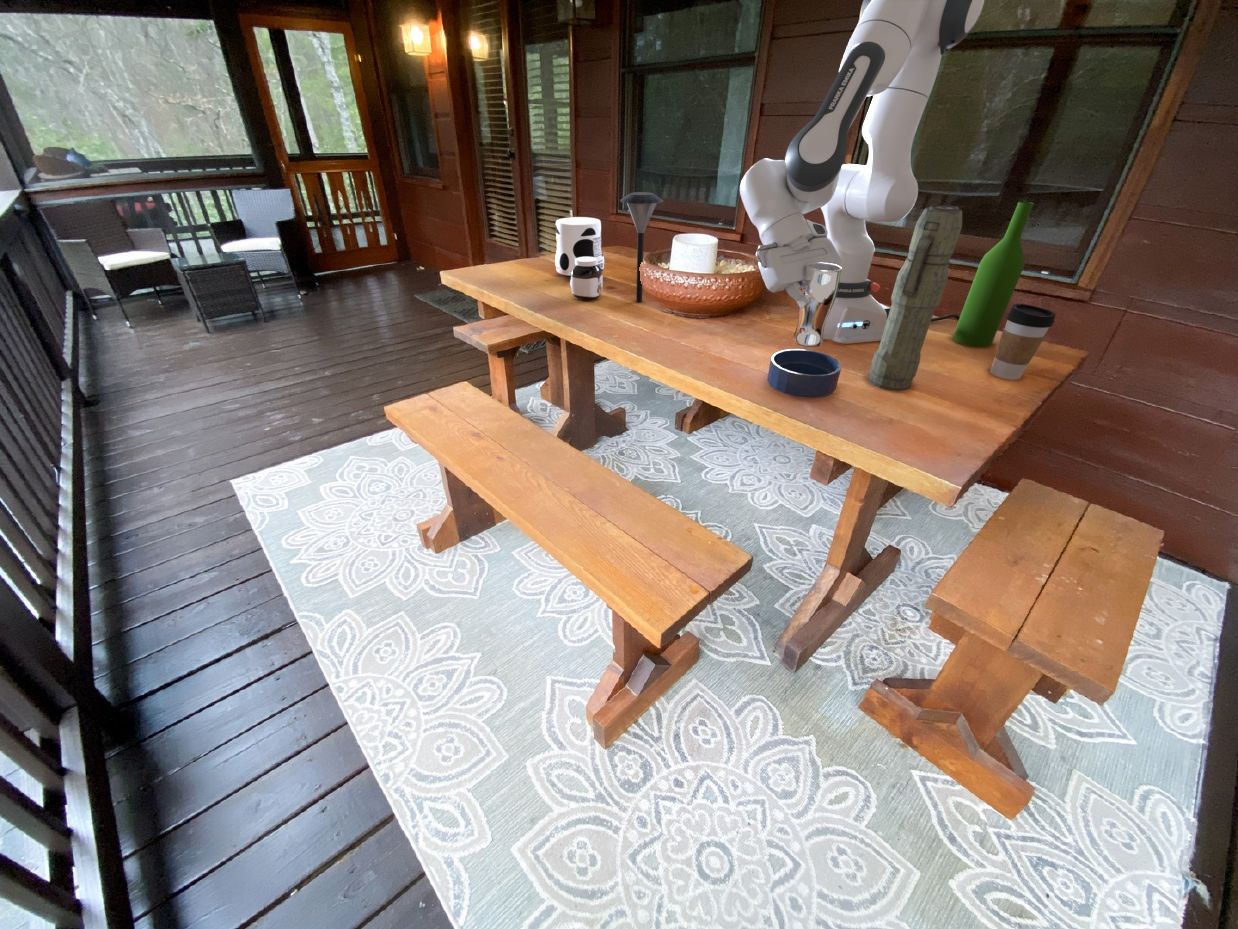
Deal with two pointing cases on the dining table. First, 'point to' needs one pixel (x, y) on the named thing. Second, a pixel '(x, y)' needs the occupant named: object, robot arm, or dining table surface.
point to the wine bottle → (993, 285)
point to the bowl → (803, 373)
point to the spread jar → (586, 279)
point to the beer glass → (816, 303)
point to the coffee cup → (1020, 339)
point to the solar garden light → (640, 224)
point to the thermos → (916, 297)
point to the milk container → (577, 242)
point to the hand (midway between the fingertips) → (818, 301)
